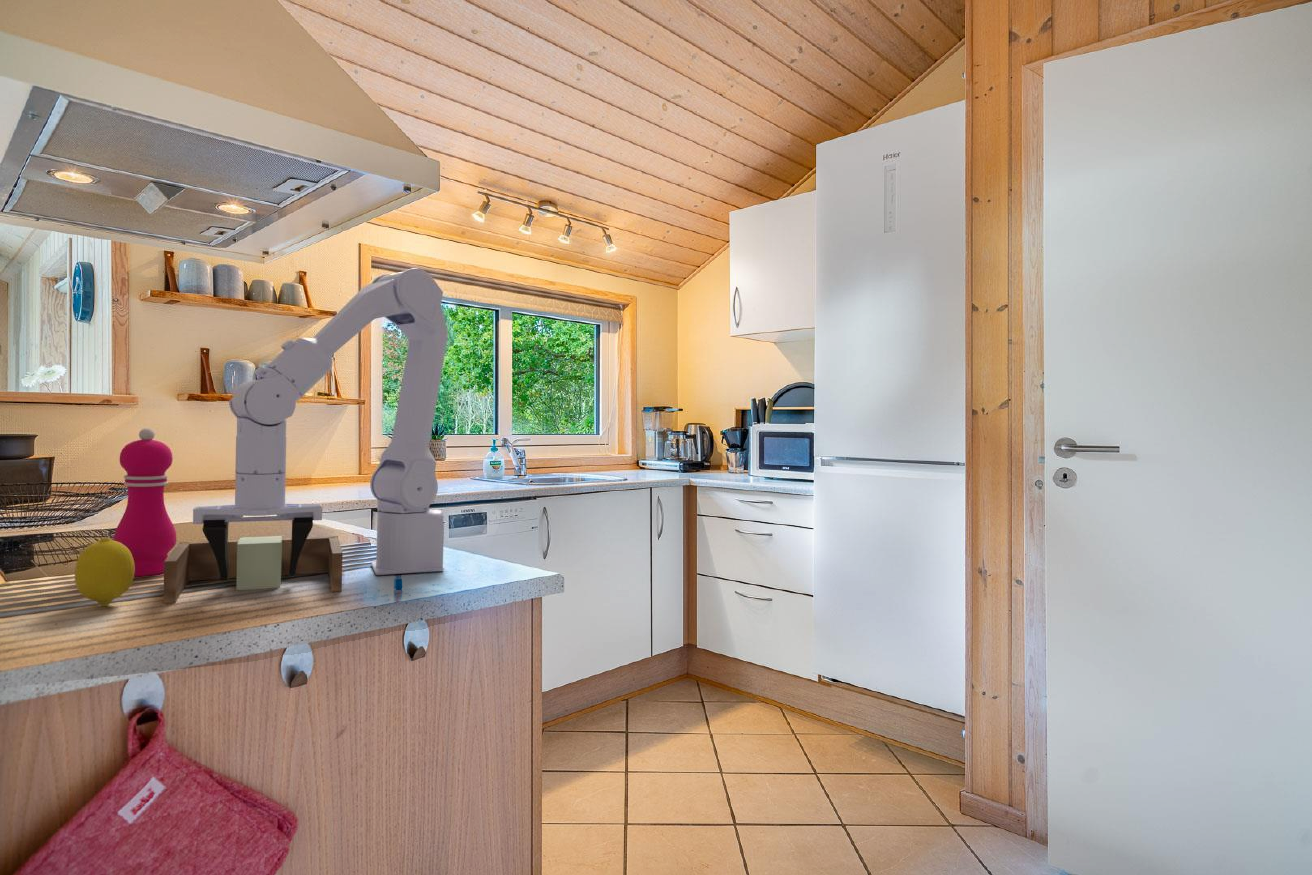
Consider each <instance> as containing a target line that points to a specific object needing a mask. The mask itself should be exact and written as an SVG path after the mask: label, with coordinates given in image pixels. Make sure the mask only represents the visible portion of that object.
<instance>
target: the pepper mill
mask: <svg viewBox="0 0 1312 875" xmlns="http://www.w3.org/2000/svg"><path fill="white" fill-rule="evenodd" d="M155 435H156V434H155V432H154V430H153V429H151V428H147V427H146V428H141V430H140V431H139V432H138V438H139V439H138V440H134V441H131V442H129V443H127V444H126V445H125V446H124V447H123V448H122V449H121V452H120V453H119V464H120V466H121V467H122V468H123V470H124V471H125V472H126V474H125V475H124V476H123V479H124V482H123V485H124V486H126V487H127V503H126V508H125V509H124V513H123V515H122V517H121V519H120V521H119V522H118V525H117V526H116V529H115V531H114V533H113V538H112V540H113V541H117V542H120V543H122V544H123V545H125V546H126V547H127V548H128V549H129V550H130V552H131V554H132V556H133V560H134V565H135V573H134V578H135V577H147V576H148V577H149V576H157V575H163V574H164V561H165V560H166V559H167V557H168V556H169V552H170V551H171V550H172V549H173V548H174V547H176V544H177V540H178V539H177V532H176V528H175V526H174V523H173V522H172V520H171V517H170V516H169V514H168V512H167V511H168V510H167V509H166V505H165V497H164V496H165V495H164V494H165V486H167V485H168V484H169V481H168V478H169V475H168V474H165V473H166V472H167V470H168V469H169V468H171V466H172V465H173V459H174V458H173V457H174V456H173V452H172V451H171V450H172V449H171V448H170V447H169V446H168V445H167V444H165V442H162V441H159V440H155V439H154V438H155Z"/></svg>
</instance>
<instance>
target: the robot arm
mask: <svg viewBox="0 0 1312 875" xmlns="http://www.w3.org/2000/svg"><path fill="white" fill-rule="evenodd" d="M443 294H444V292H443V290H442V288H441V287H440V286H439V285H438V283H437V282H436V280H435V279H434V278H433V277H432V275H431V274H430V273H429V272H427V271H426V270H424V269H420V268H415V267H413V268H408V269H406V270H404V271H400V272H395V273H391V274H389V273H388V274H381V275H379V276H377V277H375V279H373V281H372V282H371V283H369V284H367V285H365V286H363V287H362V288H361V289H360V290H359V291H358V292H357V293H356V294H355V295H354V296H353V297H352V298H351V299H350V300H349V301H348V302H347V303H346V304H345V305H344V306H343V307H342V308H341V309H340V310H339V311H338V312H337V313H336V314H335V315H334V316H333V317H332V318H331V319H330V320H329V321H328V322H326V323H325V325H324V326H323V327H322V328H321V329H320V330H319V331H318V332H317V333H316V334H315V335H314V336H313V337H312V338H311V337H309V338H308V337H297V338H296V339H295V340H294V341H293V340H292V339H291V340H286V341H285V342H283V344H281V346H280V347H281V349H282V351H281V352H280V353H279V354H278V355H277V356H276V357H275V358H274V359H272V361H270V362H269V363H268V364H267V365H266V366H265V367H263V366H259V367H258V368H257V369H255V370H253V371H254V375H255V376H256V379H251V380H247V381H245V382H242V383H241V384H239V385H238V386H237V387H236V388H235V389H234V391H233V393H232V395H233V396H232V397H231V399H229V401H228V403H229V404H228V405H229V409H230V411H231V413H232V414H233V415H234V417H235V418H236V436H235V468H234V469H235V472H234V473H235V475H234V476H235V478H234V480H235V482H234V486H235V487H234V494H235V495H234V504H227V505H226V504H225V505H212V506H211V505H209V506H195V507H193V509H192V524H193V525H203V526H202V533H203V534H204V537H205V538H206V541H208V542H209V544H210V546H211V548H212V550H213V552H214V555H215V557H216V560H217V563H218V567H219V571H220V578H221V579H220V581H222V582H223V581H224V582H225V581H228V579H229V578H228V573H229V566H228V552H227V548H228V541H229V540H228V539H229V524H230V523H241V522H242V523H245V522H272V521H273V522H276V521H280V522H281V521H291V538H292V547H291V557H290V565H289V575H288V577H296V574H295V572H296V566H297V562H298V559H299V556H300V553H301V550H302V548H303V545H304V543H305V541H306V539H307V537H309V534H310V533H311V531H312V529H313V527H314V521H322V520H323V503H286V482H287V481H286V478H287V477H286V476H287V473H286V472H287V471H286V470H287V469H286V468H287V419H288V418H291V417H292V416H293V414H294V412H295V410H296V404H297V401H300V399H302V398H303V397H304V396H305V395H306V394H307V393H308V392H309V391H310V390H311V389H312V388H313V387H315V385H316V384H317V383H318V382H320V380H322V379H323V378H324V377H325V375H327V374H328V373H329V372H330V371H331V370H332V369H333V355H334V354H335V353H336V352H337V351H338V350H340V349H341V348H342V347H343V346H345V345H346V344H347V343H348V342H349V341H351V339H353V338H354V337H355V336H356V335H358V334H359V333H360V332H361V331H362V330H363V329H364V328H366V327H367V326H368V325H369V324H370V323H371V322H373V321H374V320H376V319H380V318H385V319H386V320H388V321H389V322H391V323H392V324H393V325H395V326H396V327H398V328H399V330H400V331H401V332H402V333H403V336H405V338H406V339H407V340H408V346H407V351H406V357H405V363H404V368H403V374H402V379H401V385H400V390H399V397H398V402H397V409H396V412H395V413H396V414H395V419H394V425H393V430H392V436H391V442H390V443H389V445H388V446H387V447H386V448H385V450H384V451H383V452H382V453H381V455H380V460H379V464H378V466H377V467H376V468H375V471H373V473H372V475H371V476H370V477H371V478H370V481H369V482H370V483H369V486H370V491H371V493H372V494H371V495H373V497H374V498H375V499H376V500H377V511H376V512H377V514H376V515H377V516H376V550H375V551H376V556H375V557H376V558H375V560H372V561H370V565H371V568H372V570H373V572H374V574H375V575H376V576H382V575H385V576H386V575H395V574H396V575H398V574H399V575H401V574H413V573H414V574H415V573H417V574H418V573H428V572H431V573H432V572H443V571H444V570H445V569H444V539H445V538H444V537H445V536H444V534H445V524H444V520H445V519H444V515H443V512H442V510H441V509H439V508H438V509H431V508H430V505H431V504H433V502H434V501H435V500H436V497H437V495H438V488H439V486H438V484H439V483H438V480H437V477H436V467H437V461H436V459H435V457H434V456H433V453H432V452H431V450H430V443H431V442H430V441H431V436H432V431H433V427H434V426H433V425H434V419H435V414H436V408H437V407H436V406H437V401H438V398H439V390H440V384H441V380H442V379H441V378H442V374H443V373H442V372H443V367H444V362H445V355H446V349H447V345H448V339H449V338H448V337H449V332H448V327H447V322H446V319H445V315H444V310H443V308H442V300H443V296H444V295H443Z"/></svg>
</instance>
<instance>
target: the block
mask: <svg viewBox="0 0 1312 875" xmlns="http://www.w3.org/2000/svg"><path fill="white" fill-rule="evenodd" d="M282 538H283V536H282V535H275V536H273V535H271V536H248V537H246V536H245V537H244V536H243V537H240V538H239V539H238V540H239V541H238V544H237V578H236V590H235V591H244V590H245V591H247V590H259V589H262V590H263V589H274V588H275V589H276V588H281V585H282V575H281V561H282Z"/></svg>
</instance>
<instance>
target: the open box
mask: <svg viewBox="0 0 1312 875" xmlns="http://www.w3.org/2000/svg"><path fill="white" fill-rule="evenodd" d="M238 541H239V539H236V540H235V539H234V540H232V539H231V540H228V548H227V552H228V566H229V573H228V579H237V544H238ZM341 546H342V545H341V543H340V539H339V536H337V535H336V536H335V535H334V536H316V537H315V536H314V537H312V536H308V537H307V539H306V541H305V543H304V545H303V548H302V550H301V553H300V556H299V559H298V562H297V566H296V572H295V575H307V574H309V575H311V574H325V573H327V574H328V577H329V578H328V580H329V585H330V589H331V592H332V593H333V592H342V590H343V589H342V588H343V555H344V554H343V550H342V547H341ZM291 547H292V537H287V538H285V537H284V538H283V537H282V561H281V576H289V565H290V557H291ZM205 580H208V581H209V580H221V578H220V571H219V567H218V563H217V560H216V557H215V555H214V552H213V550H212V548H211V546H210V544H209V542H208V540H206V541H205V540H204V541H185V542H179V543H178V544H177V545H176V546H175V548H174V549H173V550H172V552H171V553H170V554H168V557H167V559H166V560H165V561H164V573H163V604H174V603H176V602H177V601H178V599H179V597H180V596H181V595H182V593H183V590H184V589H185V588H186V586H187V584H188V583H189V582H191V581H205Z"/></svg>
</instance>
